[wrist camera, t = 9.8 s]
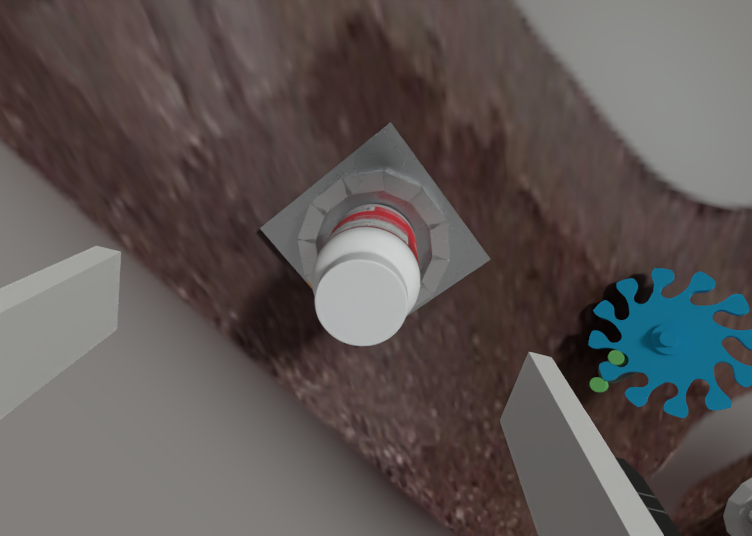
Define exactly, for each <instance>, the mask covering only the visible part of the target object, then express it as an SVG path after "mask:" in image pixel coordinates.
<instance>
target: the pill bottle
mask: <svg viewBox="0 0 752 536" xmlns="http://www.w3.org/2000/svg"><path fill="white" fill-rule="evenodd" d="M312 288H313V293H314V296H315V309H316V313H317V316H318V319H319V321H320V322H321V324H322V325H323V327H324V328H325V329H326V331H327V332H328V333H330V334H331V335H332V336H333V337H335V338H336V339H338V340H340V341H342V342H344V343H347V344H350V345H355V346H369V345H375V344H378V343H381V342H383V341H385V340H387V339H388V338H390V337H391V336H393V335H394V334H395V333H396V332H397V331H398V330H399V328H400V327H401V325H402V324H403V322H404V320H405V317H406V316H407V315H408V314H409V312H410V311H411V310H412V308H413V306H414V305H415V303H416V300H417V298H418V294H419V290H420V268H419V261H418V254H417V245H416V239H415V235H414V232H413V229H412V227H411V226H410V224H409V222H408V221H407V220H406V219H405V218H404V217H403V216H402V215H401V214H400V213H399V212H397V211H396V210H394V209H392V208H390V207H387V206H383V205H378V204H368V205H362V206H359V207H356V208H354V209H352V210H351V211H349V212H348V213H346V214H345V215H344V216H343V217H342V218H341V219H340V220H339V221H338V223H337V224H336V226H335V227H334V229H333V231H332V233H331V234H330V236H329V238H328V239H327V241H326V242H325V244H324V246H323V247H322V249H321V250H320V252H319V254H318V256H317V258H316V261H315V263H314V266H313V271H312Z"/></svg>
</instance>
